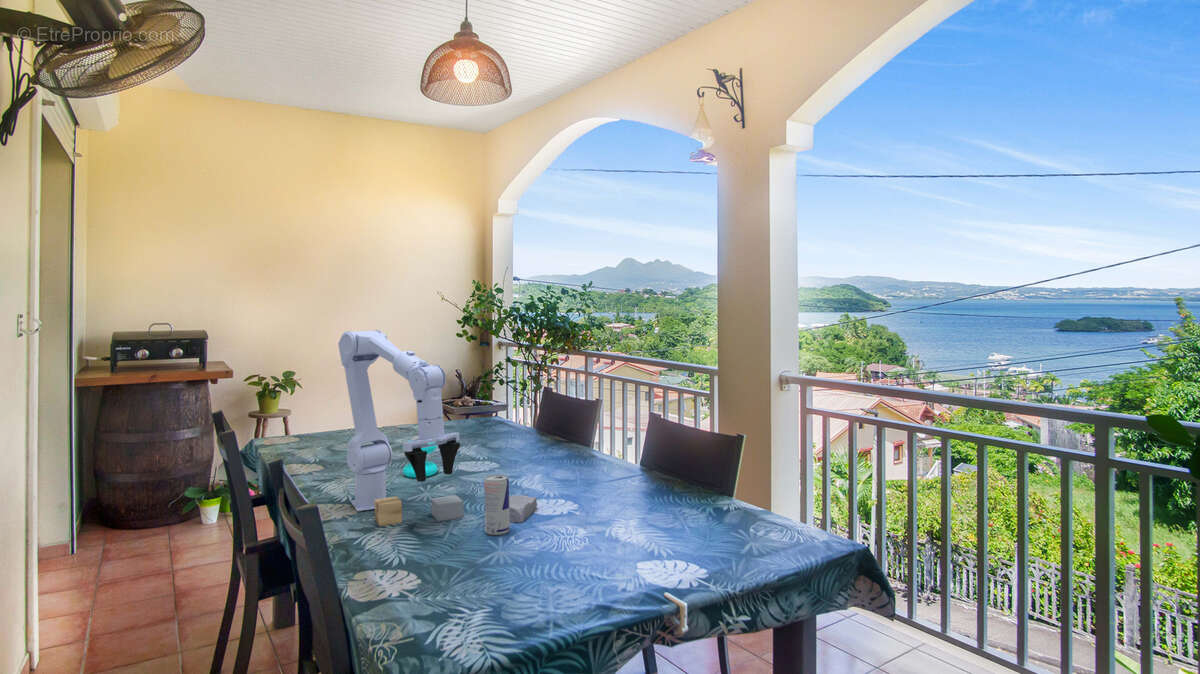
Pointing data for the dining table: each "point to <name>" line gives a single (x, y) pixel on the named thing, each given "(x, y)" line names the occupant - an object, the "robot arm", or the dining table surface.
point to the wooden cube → (388, 511)
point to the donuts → (429, 466)
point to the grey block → (447, 507)
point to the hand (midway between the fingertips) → (435, 477)
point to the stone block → (521, 507)
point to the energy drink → (496, 504)
